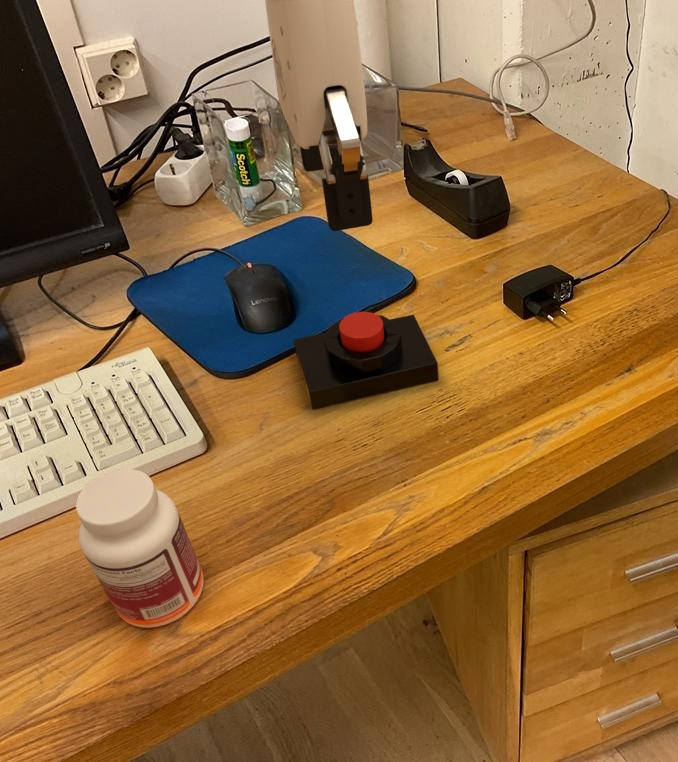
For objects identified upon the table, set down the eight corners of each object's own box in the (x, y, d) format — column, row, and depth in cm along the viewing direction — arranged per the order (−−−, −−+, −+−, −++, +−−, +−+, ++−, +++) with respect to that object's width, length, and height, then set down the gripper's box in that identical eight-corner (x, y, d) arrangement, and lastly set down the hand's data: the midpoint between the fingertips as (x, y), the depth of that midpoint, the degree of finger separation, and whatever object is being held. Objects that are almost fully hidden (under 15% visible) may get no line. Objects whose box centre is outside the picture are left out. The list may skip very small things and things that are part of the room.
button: (346, 356, 74) (344, 341, 72) (337, 331, 76) (334, 316, 75) (389, 347, 75) (387, 332, 74) (378, 322, 78) (376, 307, 76)
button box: (312, 410, 74) (306, 377, 71) (296, 356, 79) (290, 324, 76) (438, 380, 77) (437, 347, 74) (414, 331, 82) (412, 299, 80)
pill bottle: (152, 548, 62) (108, 448, 54) (222, 572, 60) (186, 472, 53) (96, 615, 57) (40, 516, 50) (169, 643, 56) (123, 545, 49)
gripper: (227, -74, 57) (269, 155, 68) (266, 0, 45) (310, 262, 56) (334, -80, 59) (357, 142, 70) (398, -12, 47) (414, 243, 58)
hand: (336, 195), depth 63 cm, fingers open, 9 cm apart
